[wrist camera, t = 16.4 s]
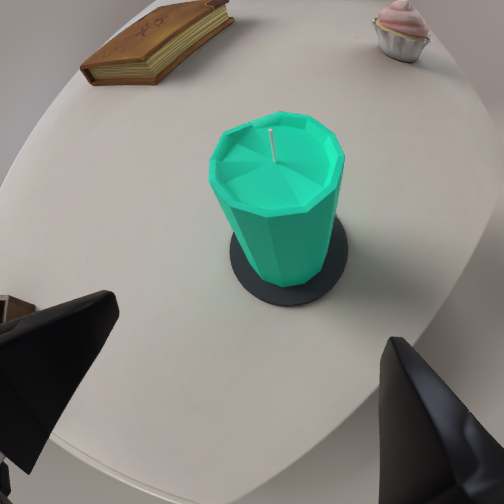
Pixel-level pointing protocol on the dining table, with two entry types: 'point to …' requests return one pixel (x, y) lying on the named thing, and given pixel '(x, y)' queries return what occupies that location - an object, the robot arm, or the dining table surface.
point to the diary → (156, 43)
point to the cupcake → (401, 31)
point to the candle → (280, 192)
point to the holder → (14, 308)
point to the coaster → (295, 293)
